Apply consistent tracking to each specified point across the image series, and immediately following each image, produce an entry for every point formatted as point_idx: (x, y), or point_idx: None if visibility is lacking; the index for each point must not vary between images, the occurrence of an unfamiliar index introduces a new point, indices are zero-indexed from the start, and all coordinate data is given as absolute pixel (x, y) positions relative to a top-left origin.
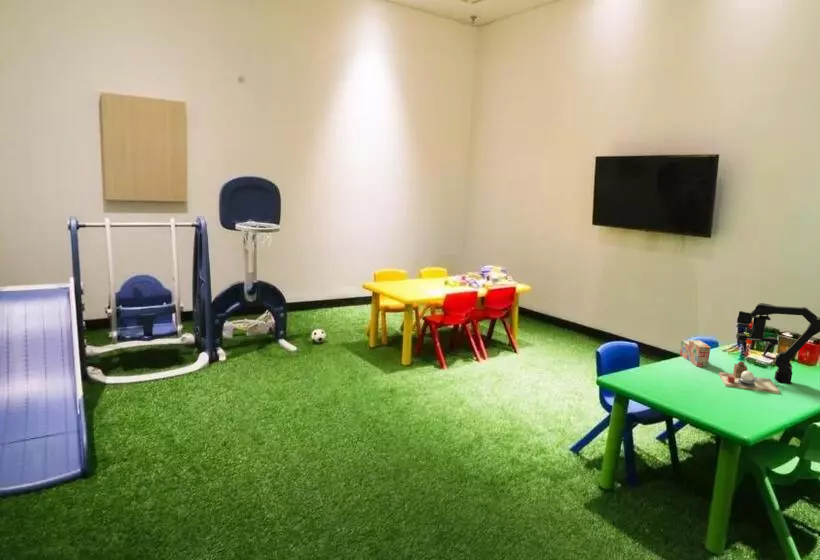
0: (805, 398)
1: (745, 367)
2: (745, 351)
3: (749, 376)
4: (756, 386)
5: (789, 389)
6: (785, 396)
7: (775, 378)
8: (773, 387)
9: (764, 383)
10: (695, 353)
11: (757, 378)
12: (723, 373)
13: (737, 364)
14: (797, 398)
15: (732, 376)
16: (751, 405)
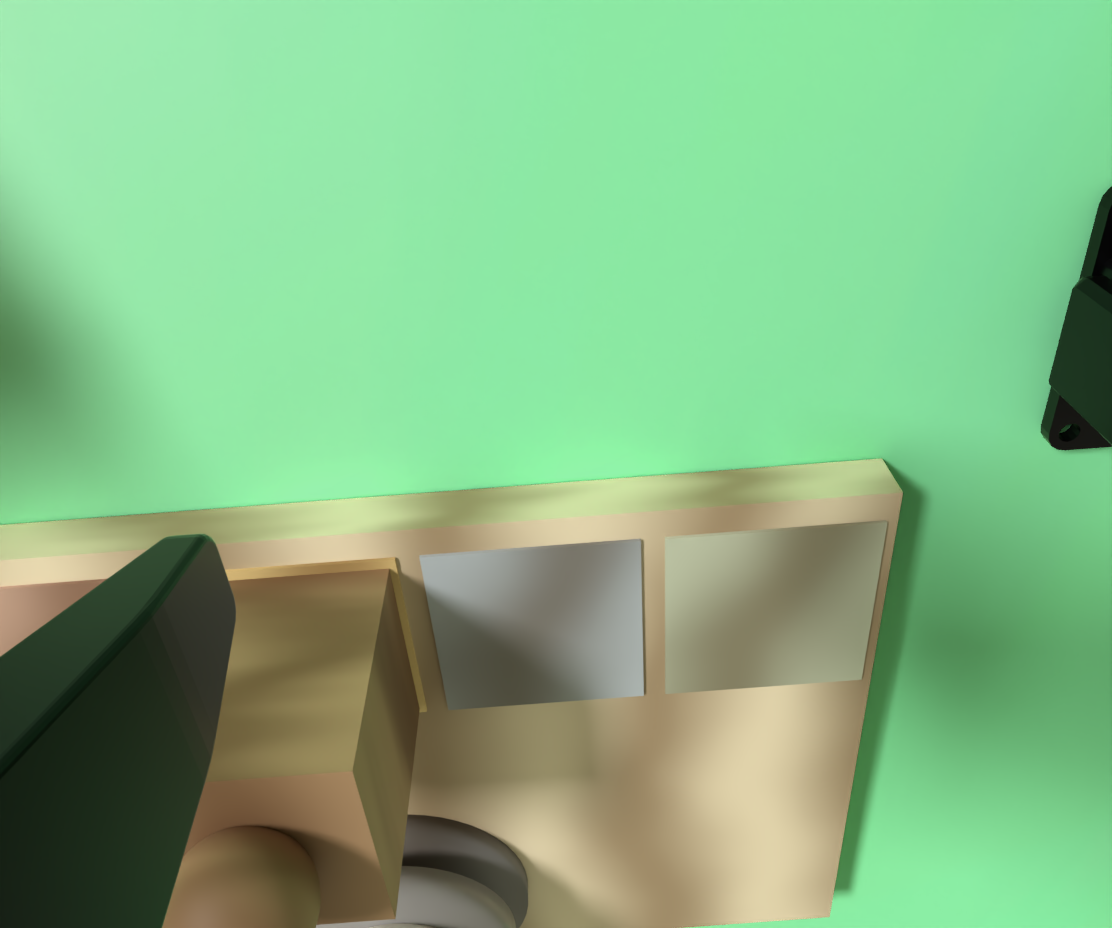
0: (1106, 875)
1: (353, 907)
2: (206, 709)
3: None
4: (546, 905)
5: (1069, 678)
6: (864, 913)
7: (1062, 371)
8: (789, 847)
9: (701, 760)
10: None
11: (640, 596)
12: (9, 628)
13: None
14: (993, 910)
15: None
16: None
